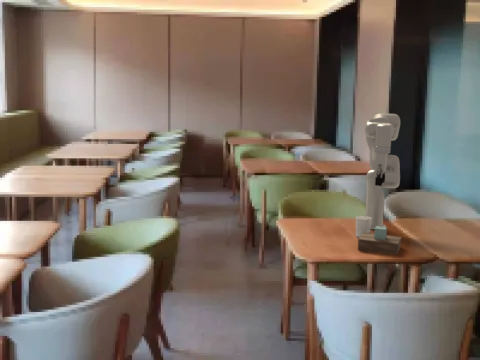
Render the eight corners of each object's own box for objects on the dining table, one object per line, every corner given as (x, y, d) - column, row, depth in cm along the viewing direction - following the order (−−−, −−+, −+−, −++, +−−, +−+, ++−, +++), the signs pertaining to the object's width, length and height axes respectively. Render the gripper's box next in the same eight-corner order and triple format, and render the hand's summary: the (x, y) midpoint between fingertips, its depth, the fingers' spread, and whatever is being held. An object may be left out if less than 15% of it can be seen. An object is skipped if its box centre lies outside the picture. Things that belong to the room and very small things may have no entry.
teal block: (375, 236, 277) (376, 225, 276) (386, 237, 275) (387, 227, 274) (374, 238, 272) (374, 228, 272) (384, 239, 271) (385, 229, 270)
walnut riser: (363, 242, 284) (363, 232, 283) (400, 246, 278) (401, 236, 277) (357, 249, 271) (358, 239, 271) (397, 254, 265) (397, 244, 264)
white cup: (358, 239, 290) (359, 219, 288) (352, 234, 297) (353, 215, 296) (372, 238, 291) (374, 219, 289) (366, 234, 299) (367, 215, 297)
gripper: (377, 147, 291) (374, 180, 294) (371, 150, 275) (369, 186, 278) (392, 148, 289) (389, 182, 292) (387, 152, 273) (385, 187, 276)
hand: (379, 184), depth 285 cm, fingers open, 9 cm apart
